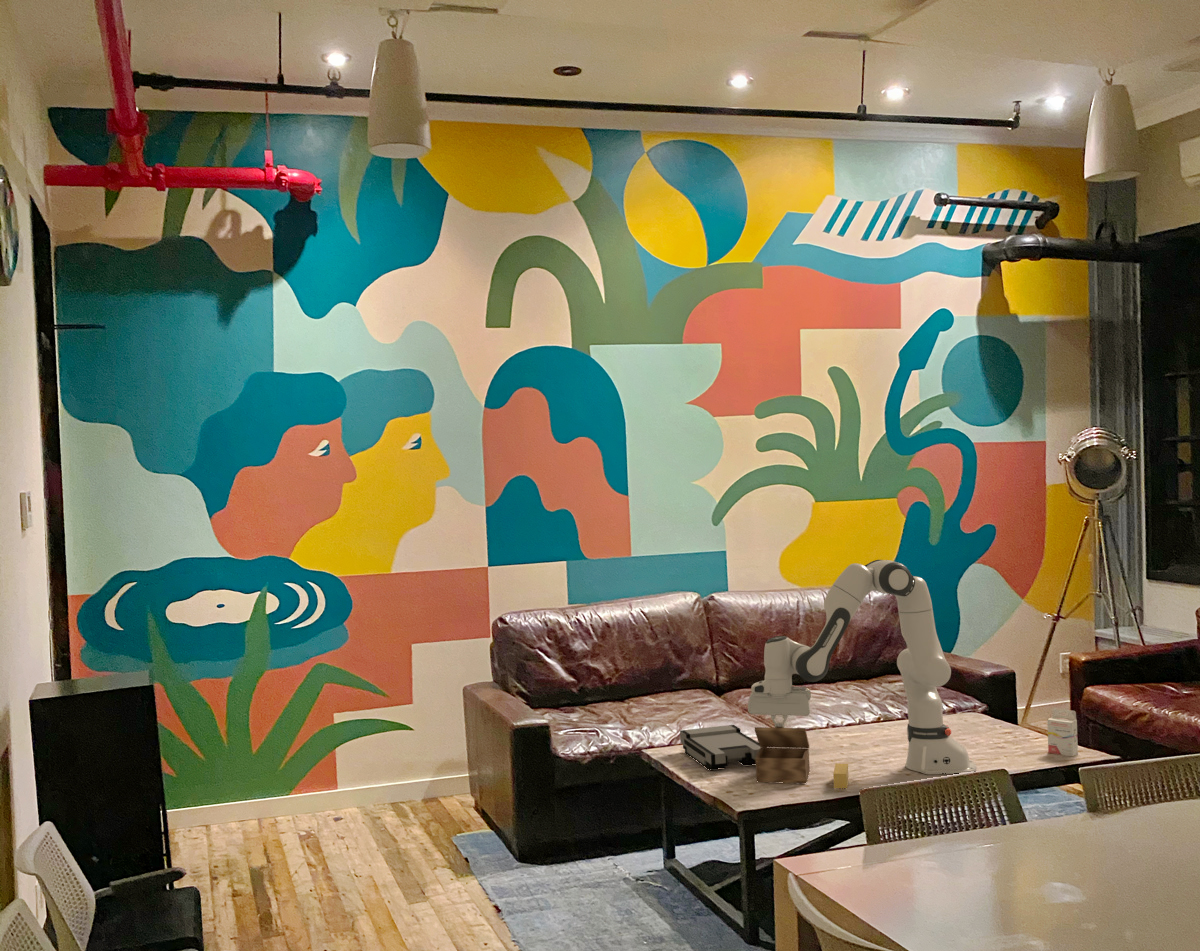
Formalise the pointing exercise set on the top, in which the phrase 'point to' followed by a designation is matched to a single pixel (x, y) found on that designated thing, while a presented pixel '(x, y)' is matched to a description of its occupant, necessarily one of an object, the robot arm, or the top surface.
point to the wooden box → (782, 765)
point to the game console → (719, 746)
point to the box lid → (782, 737)
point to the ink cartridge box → (1062, 733)
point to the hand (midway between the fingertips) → (779, 728)
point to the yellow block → (840, 775)
